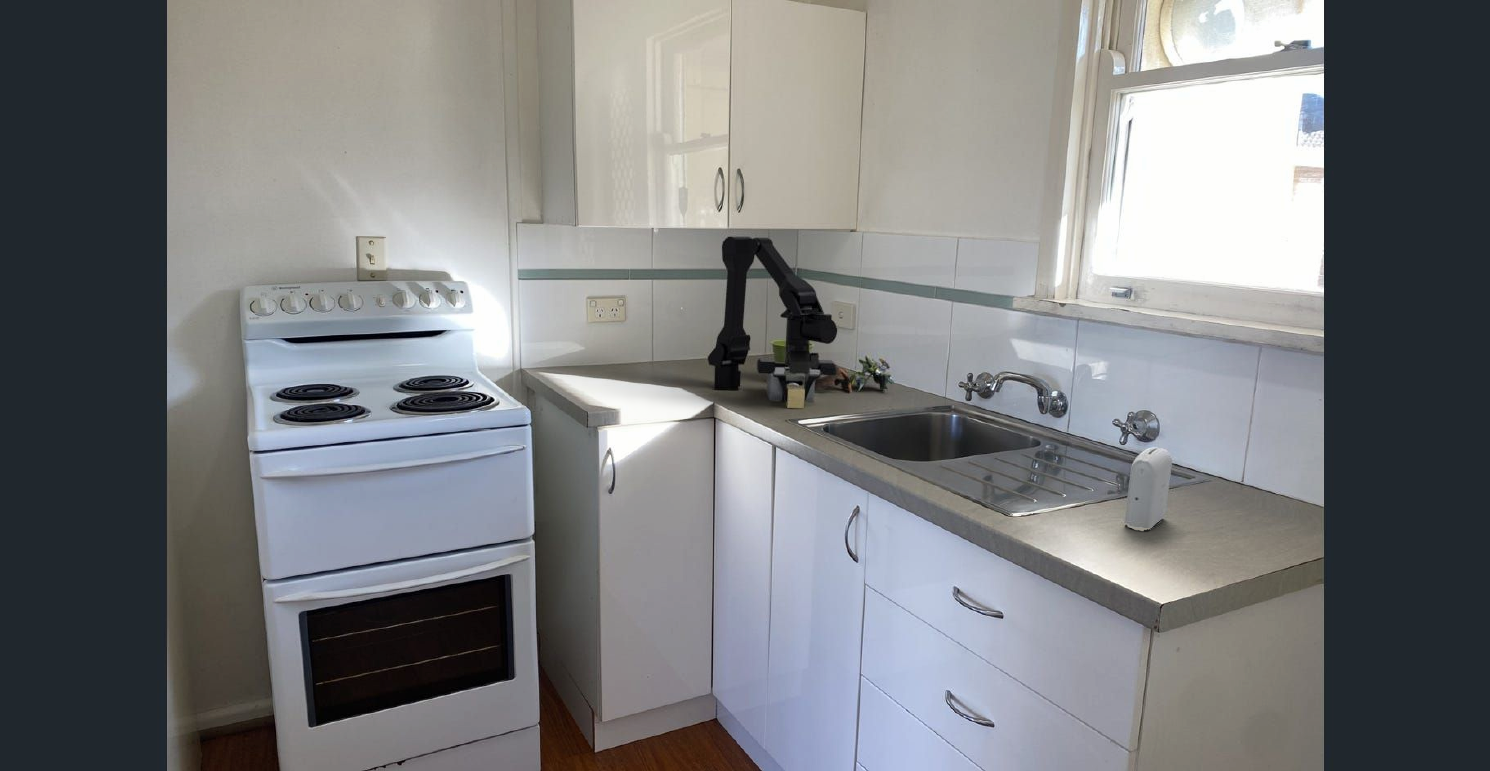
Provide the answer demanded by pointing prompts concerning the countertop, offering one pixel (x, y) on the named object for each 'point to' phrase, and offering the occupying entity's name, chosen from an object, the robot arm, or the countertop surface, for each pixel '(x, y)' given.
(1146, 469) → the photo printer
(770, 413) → the countertop surface
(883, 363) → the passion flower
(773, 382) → the housing
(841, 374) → the brown lumpy piece
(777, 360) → the plant pot
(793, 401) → the end cover
